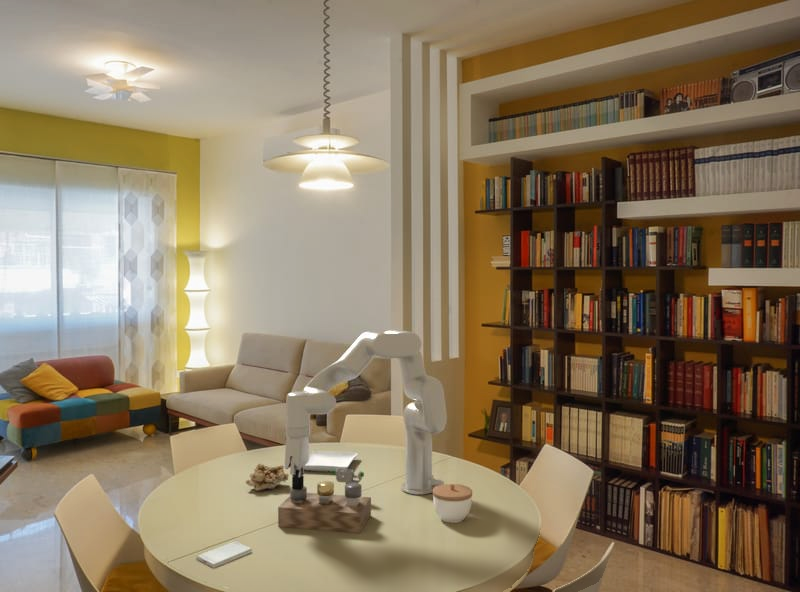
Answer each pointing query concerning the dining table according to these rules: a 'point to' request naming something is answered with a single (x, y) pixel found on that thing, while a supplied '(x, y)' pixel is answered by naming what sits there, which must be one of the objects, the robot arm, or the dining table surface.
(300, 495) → the knob
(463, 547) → the dining table surface
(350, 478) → the mechanical component
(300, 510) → the knob panel
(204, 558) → the hard drive
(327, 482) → the knob middle
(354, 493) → the knob
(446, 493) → the lidded bowl
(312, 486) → the dining table surface
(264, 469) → the mineral formation
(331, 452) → the salad plate
